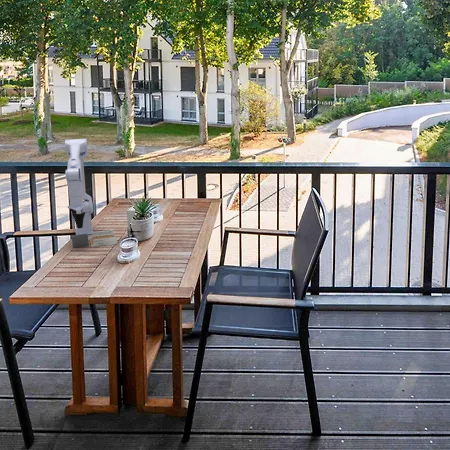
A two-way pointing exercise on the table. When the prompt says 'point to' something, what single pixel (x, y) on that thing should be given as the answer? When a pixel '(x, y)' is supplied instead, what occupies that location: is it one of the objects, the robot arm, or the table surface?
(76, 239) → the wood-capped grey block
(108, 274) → the table surface
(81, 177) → the robot arm
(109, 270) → the table surface
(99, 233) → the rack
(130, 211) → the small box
